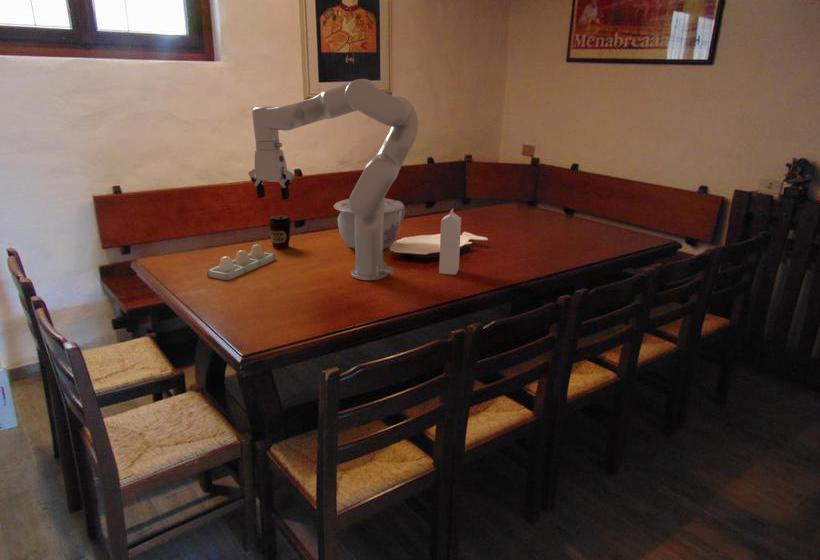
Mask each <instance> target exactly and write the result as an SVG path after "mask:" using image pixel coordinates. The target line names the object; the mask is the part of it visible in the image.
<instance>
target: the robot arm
mask: <svg viewBox="0 0 820 560" xmlns="http://www.w3.org/2000/svg"><path fill="white" fill-rule="evenodd" d="M357 111H358V112H360V113H362V115H365V116H367V117H368V118H371V119H373V120H375V121H377V122H378V123H381V124H383V125H385V126H386V127H390V129H389V132H388V134H387V135H386V137H385V138H384V140H383V143H382V145H381V146H380V149H379V150H378V152H377V154H376V155H375V156H374V157H373V158H372V159H370V160H369V161H368V162H367V164H366V165H365V167H364V169H363V171H362V173H361V175H360V177H359V179H358V180H357V182H356V184H355V185H354V188H353V189H352V192H351V194H350V195H349V198H348V199H349V207H350V210H351V211H352V213H353V214H354V215H355V249H354V257H355V258H354V259H355V263H354V264H355V265H354V266H355V267H354V268H352V270H350V275H351V277H352V278H354V279H357V280H361V281H377V280H378V281H379V280H382V279H384V278H386V277H387V276H388V275H392V276H393V274H394V267H393V266H388V265H387V262H386V261H384V249H383V230H384V205H385V197H386V195H387V193H388V192H389V190H390V188H391V186H392V185H393V183H394V182H395V180H396V178H398V175H399V172H400V170H401V169H402V168H401V167H402V166H403V164H404V162H405V161H406V159H407V157H408V155H409V153H410V151H411V149H412V147H413V145H414V144H415V141H416V138H417V135H418V132H419V131H418V130H419V118H418V115H417V111H416V110H415V107H414V106H413V104H412V103H411V101H410V100H409V99H407V98H406V97H404V96H401V95H400V96H399V95H397V96H393V95H391V94H389V93H387V92H386V91H383V90H381V89H379V88H377V86H376V85H375V84H374V82H373V81H372V80H369V79H367V78H357V79H353V80H352V81H350V82H349V83H346V84H342V85H339V86H336V87H332V88H330V89H326V90H324V91H322V92H320V93H319V94H317V95H315V96H314V97H311V98H308V99H305V100H301V101H298V102H296V103H292V104H287V105H282V106H281V105H280V106H268V105H267V106H256V107H254V108H253V109H252V113H251V115H252V122H253V131H254V138H255V141H254V142H255V148H256V149H255V150H254V168H253V169H251V170H249V171H248V176H249V178H250V179H251V180H250V181H251V182H252V183H253V185H254V187H256V189H255V190H256V194H257V198H258V199H262V198H264V197H266V195H265V194H266V193H265V185H264V184H263V183H265V182H267V183H268V182H269V183H271V182H272V183H279V185H280V186H281V188H280V196H281V200H282V201H285V200H288V199H289V198H290V191H289V190H290V189H289V187H290V185H291V184H292V183H293V180H294V178H295V174H294V173H293V172H292V171H290V170H288V167H287V162H286V157H285V154H284V150H283V149H281V148H282V147H283V143H282V142H280V135H279V131H282V132H283V131H291V130H294V129H298V128H301V127H303V126H307V125H310V124H314V123H317V122H320V121H324V120H332V119H334V118H339V117H341V116H344V115H347V114H351V113H354V112H357Z"/></svg>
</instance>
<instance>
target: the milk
mask: <svg viewBox="0 0 820 560" xmlns="http://www.w3.org/2000/svg"><path fill="white" fill-rule="evenodd" d="M461 228H462V217H460V215H458V214H456V213H455V212H454V208H452V209H451V210H450V211H449V214H447V215H445V216H444V217H442V219H441V220H440V238H439V243H440V244H439V264H438V265H439V268H438V273H439V274H443V275H451V276H452V275H454V276H456V275H457V274H458V271H459V269H460V253H461V251H460V249H461V231H462V229H461Z"/></svg>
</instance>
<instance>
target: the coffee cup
mask: <svg viewBox="0 0 820 560" xmlns="http://www.w3.org/2000/svg"><path fill="white" fill-rule="evenodd" d="M291 225H292V219H291V218H290V216H288V215H284V214H283V215H271V216H270V217H269V220H268V226H269V233H270V239H271V240H270V241H271V244H272V248H273V249H274V250H279V251H280V250H287V249H289V248H290V239H291V233H292V232H291V231H292V230H291Z"/></svg>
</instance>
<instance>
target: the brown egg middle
mask: <svg viewBox="0 0 820 560" xmlns="http://www.w3.org/2000/svg"><path fill="white" fill-rule="evenodd" d="M248 254H249V253H248V252H247V251H246V250H244V249H241V250H238V251H237V252H236V254H235V255H236V256H235V263H236V264H237V265H239V266H245V265H247V264H249V261H250V260H249V257H248Z"/></svg>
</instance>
